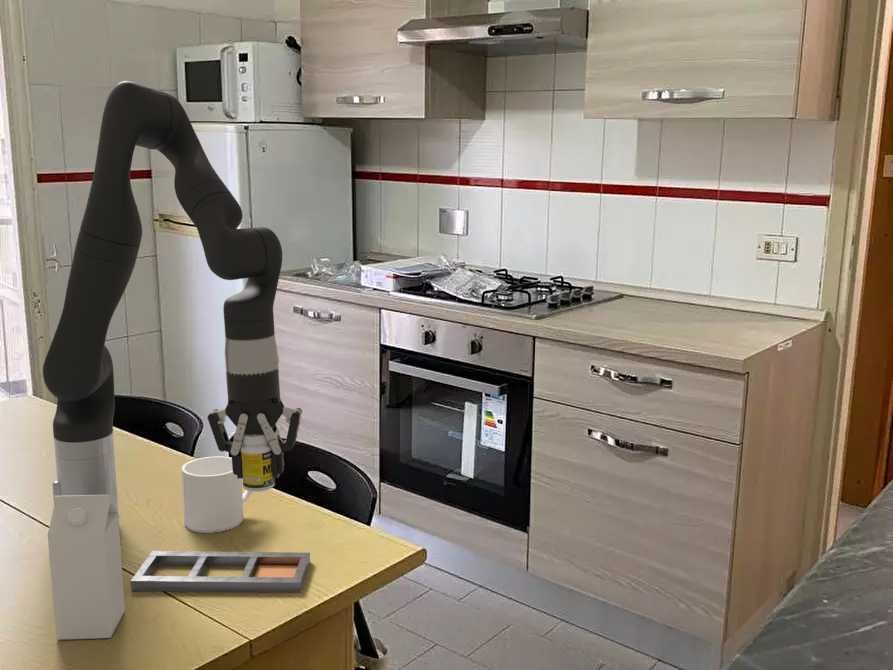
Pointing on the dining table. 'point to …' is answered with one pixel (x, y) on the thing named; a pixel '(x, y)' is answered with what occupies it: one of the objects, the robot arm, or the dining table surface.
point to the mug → (212, 495)
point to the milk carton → (85, 567)
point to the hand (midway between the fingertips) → (259, 475)
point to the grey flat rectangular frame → (221, 584)
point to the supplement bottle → (257, 463)
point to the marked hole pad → (276, 571)
